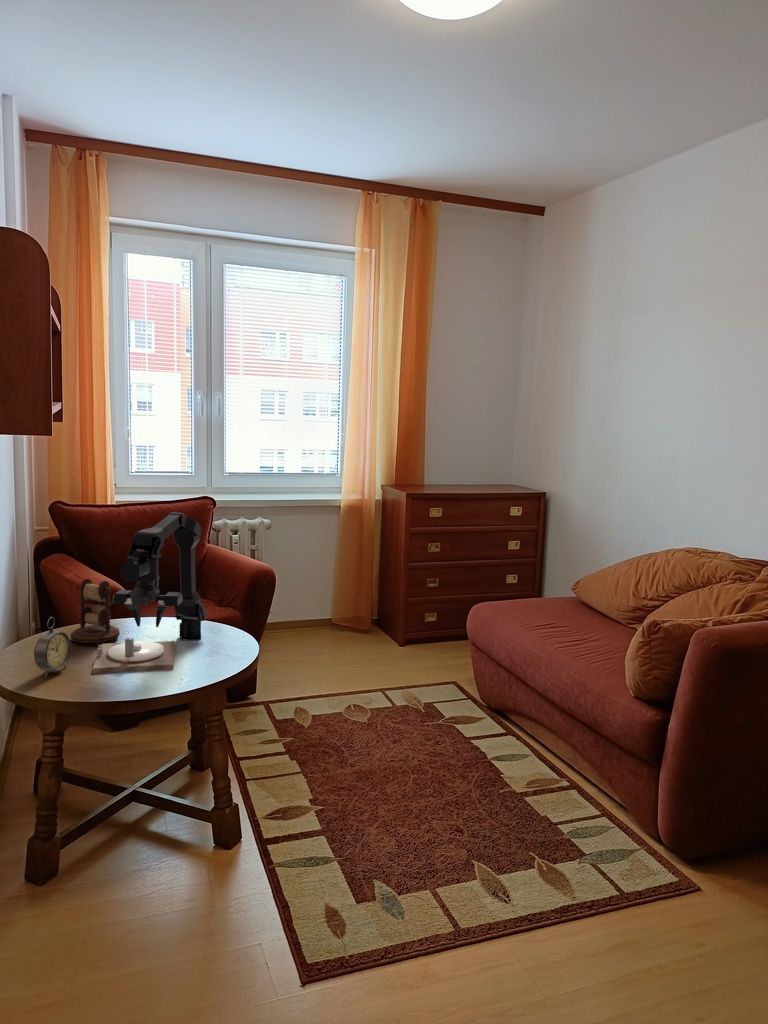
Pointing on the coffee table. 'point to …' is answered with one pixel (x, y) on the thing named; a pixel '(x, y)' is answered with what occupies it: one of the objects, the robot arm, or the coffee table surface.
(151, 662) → the stand plate
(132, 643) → the dial
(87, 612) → the wooden thread spool stand
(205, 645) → the coffee table surface
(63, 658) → the alarm clock
